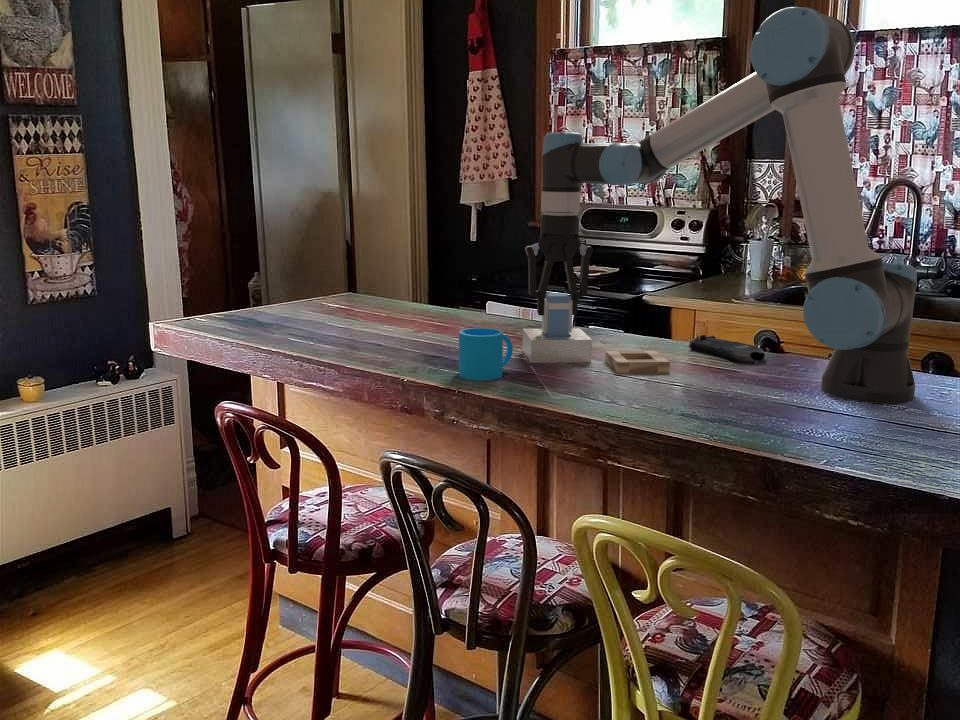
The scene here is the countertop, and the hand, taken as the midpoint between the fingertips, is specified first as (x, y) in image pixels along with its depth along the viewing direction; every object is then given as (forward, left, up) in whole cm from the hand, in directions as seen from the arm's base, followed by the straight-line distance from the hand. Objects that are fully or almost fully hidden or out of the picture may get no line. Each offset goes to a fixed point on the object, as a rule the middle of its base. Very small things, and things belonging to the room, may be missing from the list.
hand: (556, 331), depth 184 cm
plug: (0, 0, -3) cm, 3 cm away
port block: (0, 0, -6) cm, 6 cm away
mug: (-12, +15, -6) cm, 20 cm away
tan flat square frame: (-10, -14, -6) cm, 18 cm away
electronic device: (+1, -36, -6) cm, 37 cm away
